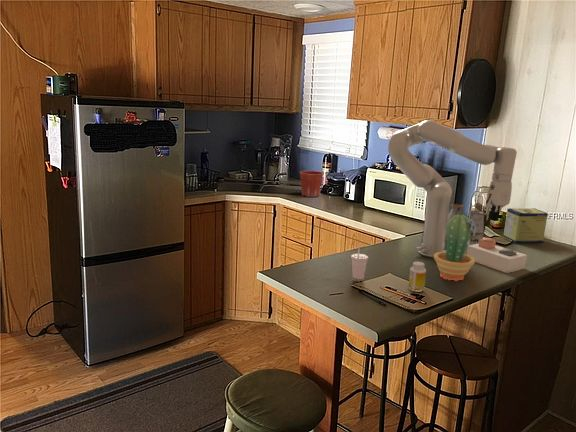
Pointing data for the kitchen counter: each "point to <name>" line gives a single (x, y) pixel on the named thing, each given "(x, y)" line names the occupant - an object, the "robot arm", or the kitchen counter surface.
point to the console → (497, 258)
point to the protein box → (525, 225)
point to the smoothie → (359, 264)
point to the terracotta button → (487, 243)
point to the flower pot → (311, 183)
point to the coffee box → (477, 226)
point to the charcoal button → (507, 252)
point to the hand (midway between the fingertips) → (493, 220)
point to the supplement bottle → (417, 276)
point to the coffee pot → (455, 211)
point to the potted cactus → (456, 249)
